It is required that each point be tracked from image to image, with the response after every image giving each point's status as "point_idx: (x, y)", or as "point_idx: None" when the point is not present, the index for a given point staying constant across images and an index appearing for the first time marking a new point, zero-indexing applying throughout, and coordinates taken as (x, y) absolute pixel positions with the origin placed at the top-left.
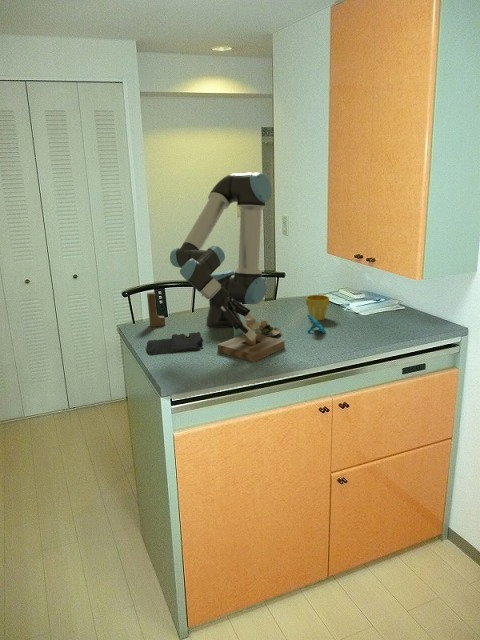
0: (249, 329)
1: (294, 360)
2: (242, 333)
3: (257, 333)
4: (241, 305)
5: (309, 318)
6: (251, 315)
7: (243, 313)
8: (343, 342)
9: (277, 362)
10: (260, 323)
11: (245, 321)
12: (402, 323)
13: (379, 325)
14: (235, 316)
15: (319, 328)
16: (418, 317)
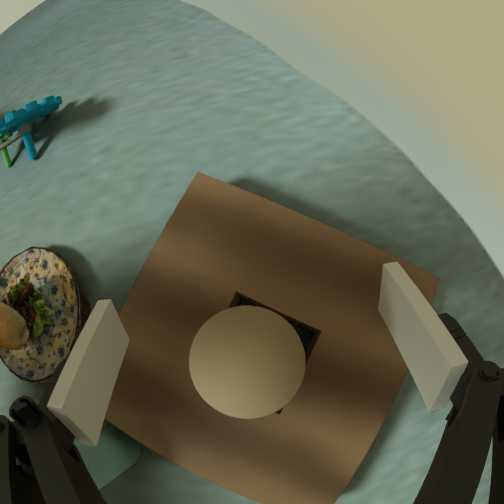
0: (431, 308)
1: (348, 129)
2: (101, 433)
3: (37, 360)
4: (10, 498)
5: (14, 115)
6: (72, 380)
7: (76, 462)
8: (139, 48)
9: (391, 185)
10: (100, 305)
11: (271, 410)
12: (41, 23)
13: (37, 43)
14: (475, 477)
15: (56, 100)
16: (23, 23)
